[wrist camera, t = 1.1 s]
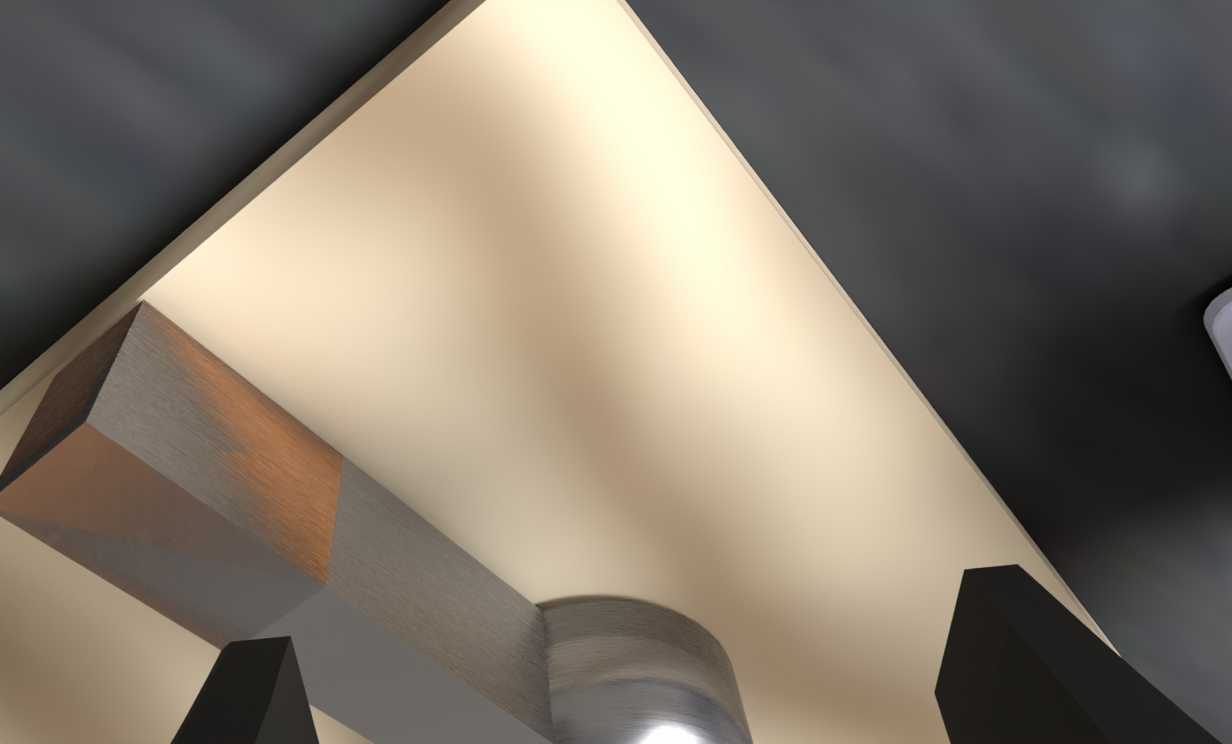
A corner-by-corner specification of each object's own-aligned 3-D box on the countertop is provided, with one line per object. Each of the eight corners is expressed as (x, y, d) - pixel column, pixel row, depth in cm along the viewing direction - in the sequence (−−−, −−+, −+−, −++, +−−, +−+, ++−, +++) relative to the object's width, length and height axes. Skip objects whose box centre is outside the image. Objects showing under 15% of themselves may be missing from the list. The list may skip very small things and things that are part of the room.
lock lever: (788, 700, 23) (828, 828, 20) (570, 825, 24) (583, 958, 22) (238, 218, 15) (196, 329, 13) (-28, 446, 17) (-111, 584, 14)
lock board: (555, -91, 15) (564, -67, 14) (1119, 655, 26) (1154, 707, 25) (-317, 664, 21) (-368, 731, 20) (451, 1011, 32) (451, 1068, 31)
